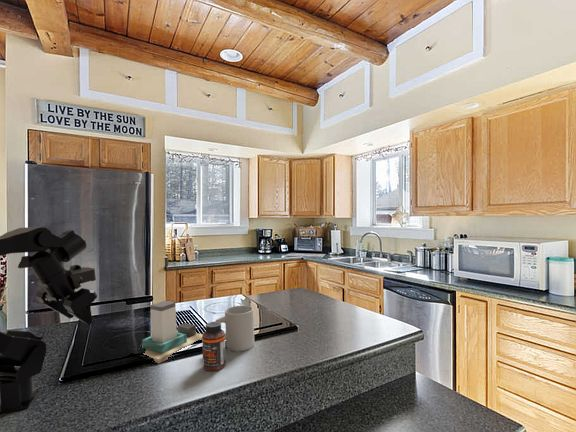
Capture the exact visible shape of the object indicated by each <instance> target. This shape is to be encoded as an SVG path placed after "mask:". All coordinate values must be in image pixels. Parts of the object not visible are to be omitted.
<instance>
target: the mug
mask: <svg viewBox="0 0 576 432" xmlns="http://www.w3.org/2000/svg"><path fill="white" fill-rule="evenodd" d="M214 322H220V323H221V324H222V323H223V324H224V325H225V348H226V349H227V350H229V351H231V352H245V351H248V350H250V349H252V348H254V346H255V344H256V343H255V324H254V308H253V307H252V306H250V305H249V306H248V305H234V306H231V307H228V308H226V309H225V311H224V316H222V317H219V318H217V319H216V320H215V321H214Z"/></svg>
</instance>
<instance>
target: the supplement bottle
mask: <svg viewBox="0 0 576 432" xmlns="http://www.w3.org/2000/svg"><path fill="white" fill-rule="evenodd" d="M225 333H226V331H225V330H223V329H222V323H220V322H215V321H210V322H207V323H206V324H205V331H204V332H203V333H202V334H203V335H202V342H201V344H202V345H201V347H202V365H203V368H204V369H205V370H207V371H210V372H212V371H218V370H220V369H223V368H224V367H225V366H226V364H227V363H226V362H227V361H226V360H227V358H226V340H225Z"/></svg>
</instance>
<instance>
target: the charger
mask: <svg viewBox="0 0 576 432" xmlns="http://www.w3.org/2000/svg"><path fill="white" fill-rule="evenodd" d="M149 307H150V320H151V322H150V324H151V336H152V341H155V342H158V343H162V344H163V343H165V342H167V341H169V340H172V339H174V338H176V337H177V330H178V326H177V308H176V302H174V301H168V300H163V301H160V302H157V303H153V304H151V305H150V306H149Z"/></svg>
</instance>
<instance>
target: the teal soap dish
mask: <svg viewBox="0 0 576 432" xmlns="http://www.w3.org/2000/svg"><path fill="white" fill-rule="evenodd" d="M196 329H197V328H196V325H195V324H192V323H191V324H190V323H186V322H184V323H182V324H180V325H177V337H176V338H174V339H172V340H169V341H167V342H165V343H163V344H162V343H158V342H155V341H152V335H150V336H148V337H145V338H143V339H141V345H142V348H145V349H146V351H145V353H143V354H144V355H147V356H149V357H151V358H153V359H154V361H155V362H154V363H157V364H161V363H163V362H165V361H167V360H169V359H168V357H169V356H170V355H172V354H173V353H174V352H177V351H179V350H181V349H182V348H185V347H187V346H189V345H191V344H193V343H194V342H196V341H198V340H200V339H202V335H203V333H198V332H197V330H196Z"/></svg>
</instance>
